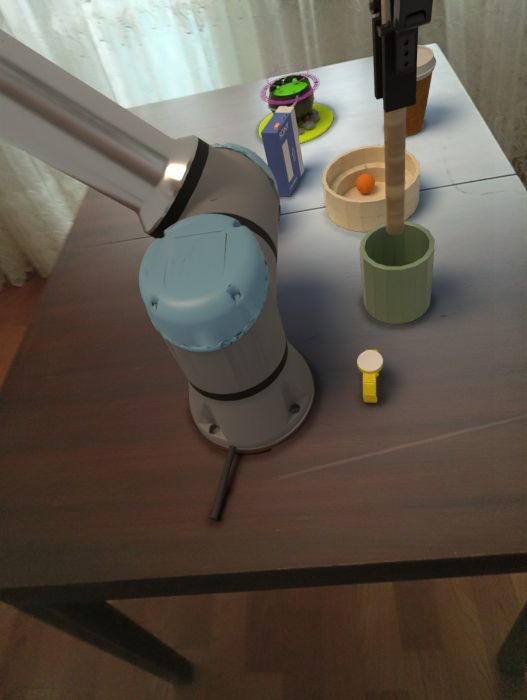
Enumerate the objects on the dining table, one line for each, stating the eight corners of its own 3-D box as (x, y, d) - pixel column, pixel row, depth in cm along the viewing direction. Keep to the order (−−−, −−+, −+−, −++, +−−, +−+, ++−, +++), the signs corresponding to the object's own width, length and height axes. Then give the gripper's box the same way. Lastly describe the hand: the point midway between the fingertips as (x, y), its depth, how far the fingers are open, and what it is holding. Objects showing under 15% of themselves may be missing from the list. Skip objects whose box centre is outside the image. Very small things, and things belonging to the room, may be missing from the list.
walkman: (289, 197, 85) (276, 130, 75) (274, 196, 86) (259, 130, 76) (305, 169, 89) (294, 103, 79) (291, 169, 90) (278, 103, 80)
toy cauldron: (249, 121, 103) (236, 66, 95) (317, 96, 104) (309, 39, 95) (271, 154, 94) (259, 96, 85) (345, 127, 94) (340, 66, 86)
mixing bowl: (432, 219, 74) (434, 184, 69) (339, 245, 75) (335, 212, 70) (400, 169, 83) (400, 135, 78) (317, 192, 84) (313, 160, 79)
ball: (377, 194, 79) (377, 177, 77) (359, 199, 79) (358, 183, 77) (372, 183, 81) (371, 167, 79) (354, 188, 81) (353, 172, 79)
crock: (440, 316, 63) (446, 257, 55) (375, 333, 63) (372, 277, 56) (416, 273, 68) (419, 213, 60) (356, 289, 69) (351, 232, 61)
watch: (361, 367, 61) (358, 337, 56) (385, 368, 60) (384, 337, 55) (358, 410, 57) (355, 381, 53) (383, 411, 56) (382, 382, 52)
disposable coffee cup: (374, 142, 89) (371, 73, 80) (382, 114, 94) (380, 46, 85) (429, 141, 86) (433, 69, 77) (435, 111, 91) (439, 40, 82)
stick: (406, 232, 56) (412, -51, 36) (389, 237, 56) (385, -43, 36) (400, 221, 57) (403, -58, 37) (383, 226, 57) (376, -50, 37)
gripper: (530, -377, 22) (470, 127, 40) (413, -337, 31) (407, 56, 50) (364, -320, 22) (379, 153, 41) (298, -298, 32) (334, 78, 50)
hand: (394, 99), depth 45 cm, fingers closed on stick, 2 cm apart
